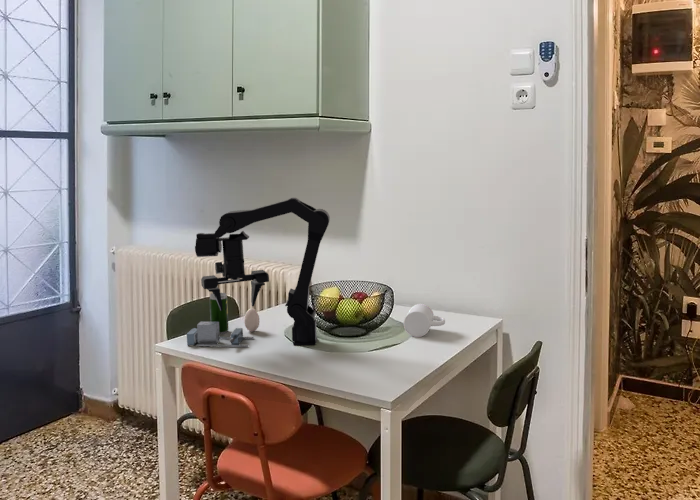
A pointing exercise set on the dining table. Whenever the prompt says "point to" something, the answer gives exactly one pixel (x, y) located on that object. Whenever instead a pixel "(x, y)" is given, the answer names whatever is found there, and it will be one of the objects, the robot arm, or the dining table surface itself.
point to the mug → (421, 320)
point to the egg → (251, 320)
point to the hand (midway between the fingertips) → (237, 308)
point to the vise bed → (193, 339)
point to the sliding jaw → (236, 336)
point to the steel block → (208, 332)
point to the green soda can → (219, 312)
